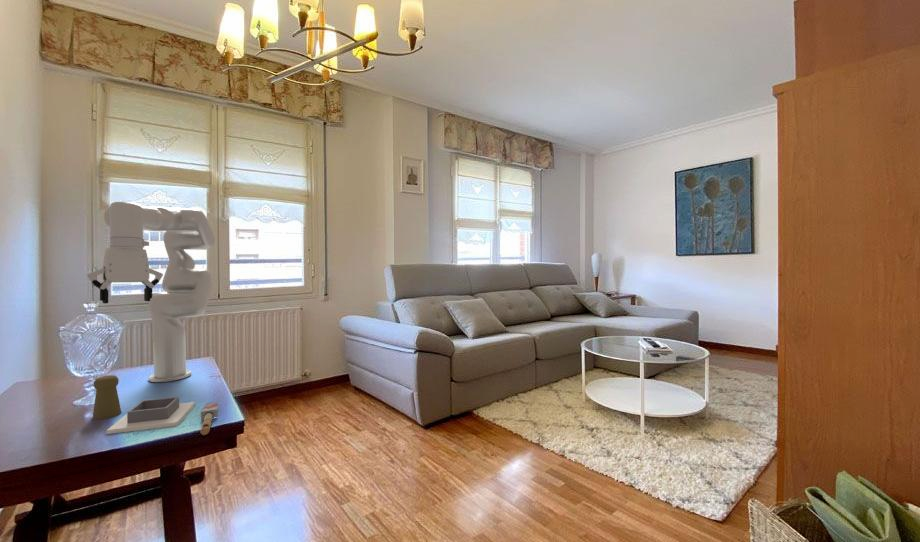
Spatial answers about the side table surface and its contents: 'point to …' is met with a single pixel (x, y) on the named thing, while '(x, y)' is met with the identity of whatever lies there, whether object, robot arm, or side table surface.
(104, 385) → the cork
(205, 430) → the paintbrush
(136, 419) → the beige square socket base
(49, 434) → the side table surface
